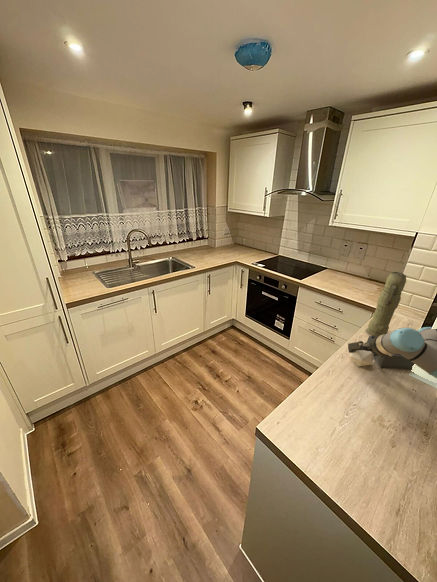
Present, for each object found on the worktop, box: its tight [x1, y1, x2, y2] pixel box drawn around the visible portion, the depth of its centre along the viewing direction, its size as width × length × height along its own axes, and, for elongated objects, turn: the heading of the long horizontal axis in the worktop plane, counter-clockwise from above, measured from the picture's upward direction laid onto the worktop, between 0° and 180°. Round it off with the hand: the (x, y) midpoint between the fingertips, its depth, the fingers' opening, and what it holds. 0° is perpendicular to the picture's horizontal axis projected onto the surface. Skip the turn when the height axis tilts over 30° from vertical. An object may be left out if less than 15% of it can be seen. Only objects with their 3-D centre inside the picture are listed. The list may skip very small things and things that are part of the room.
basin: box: [366, 335, 414, 370], centre depth 109 cm, size 14×14×7 cm
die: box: [349, 350, 374, 367], centre depth 105 cm, size 8×9×10 cm
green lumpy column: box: [366, 271, 407, 336], centre depth 121 cm, size 9×12×35 cm
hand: (360, 351), depth 108 cm, fingers closed on die, 9 cm apart
